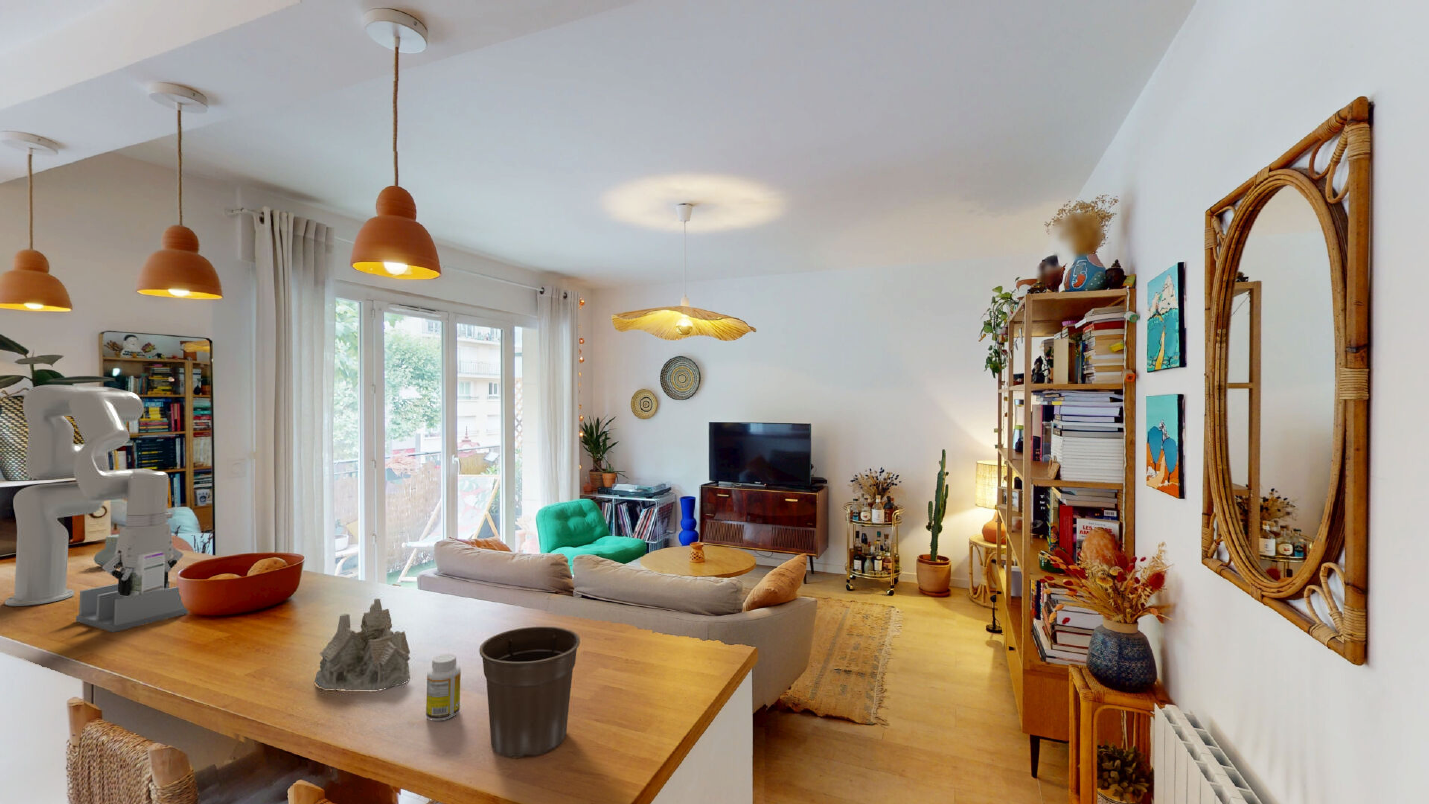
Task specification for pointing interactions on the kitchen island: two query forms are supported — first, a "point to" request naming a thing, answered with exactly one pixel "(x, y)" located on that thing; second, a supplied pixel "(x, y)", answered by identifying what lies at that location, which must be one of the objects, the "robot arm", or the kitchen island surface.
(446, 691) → the supplement bottle
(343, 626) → the ceramic cottage
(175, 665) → the kitchen island surface
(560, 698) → the plant pot
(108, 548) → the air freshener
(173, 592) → the slot rack
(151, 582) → the syrup box
